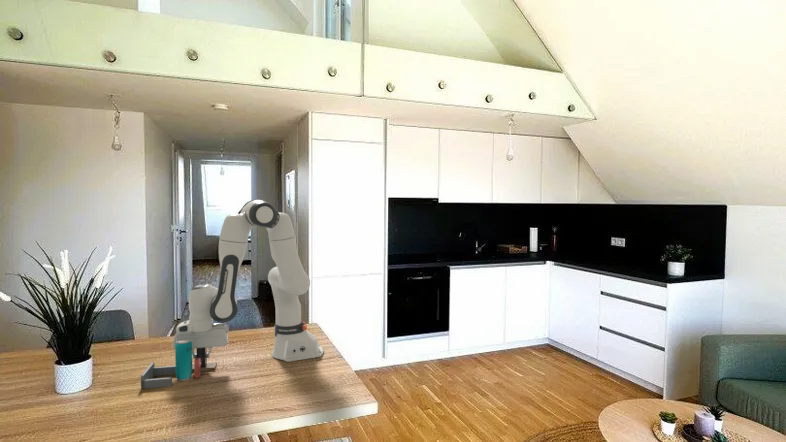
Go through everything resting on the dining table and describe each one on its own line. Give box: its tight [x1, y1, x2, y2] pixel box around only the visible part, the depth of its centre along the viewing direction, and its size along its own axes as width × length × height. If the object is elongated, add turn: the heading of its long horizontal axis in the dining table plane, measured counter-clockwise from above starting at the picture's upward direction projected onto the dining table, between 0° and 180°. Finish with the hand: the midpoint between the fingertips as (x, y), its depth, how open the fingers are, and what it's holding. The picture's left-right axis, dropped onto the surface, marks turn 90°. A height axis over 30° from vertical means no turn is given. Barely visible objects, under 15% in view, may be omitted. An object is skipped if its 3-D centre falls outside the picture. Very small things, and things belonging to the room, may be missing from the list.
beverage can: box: [174, 338, 193, 382], centre depth 158 cm, size 6×6×15 cm
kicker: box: [193, 347, 208, 379], centre depth 163 cm, size 3×11×9 cm, turn 14°
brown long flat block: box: [192, 361, 218, 373], centre depth 167 cm, size 16×5×1 cm, turn 104°
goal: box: [140, 362, 176, 390], centre depth 156 cm, size 10×12×5 cm
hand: (201, 357), depth 167 cm, fingers closed on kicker, 3 cm apart
